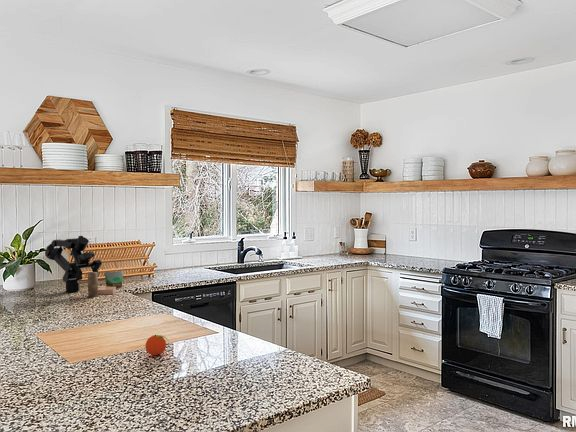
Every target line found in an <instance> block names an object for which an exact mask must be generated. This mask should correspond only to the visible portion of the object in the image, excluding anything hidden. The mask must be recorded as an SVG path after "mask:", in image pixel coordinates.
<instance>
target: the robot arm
mask: <svg viewBox="0 0 576 432" xmlns="http://www.w3.org/2000/svg"><path fill="white" fill-rule="evenodd" d="M88 244H90V241H89V239H87V237H85V236H83V235H78V238H77V237H76V238H74V237H73V238H66V239H53V240H52V241H51V243H50V244H48V246H47V247H46V248H45V251H44V256H45V257H46V258H47V259H49V260H51V261H54V262H56V263H57V265H58V266H59V267H60V268H61V269H62V270H63V271H64V274H63V276H62V281H63V282H64V283H65V291H64V292H65V293H77V292H79V291H80V290H81V288H80V287H81V286H80V285H81V283H80V281H82V280H83V270H82V269H86V268H88V269H89V268H90V269H91V272H97V273H98V274H99V269H100V268H101V266H102V264H103V262H102V260H101V259H94V260H93V261H92V262H90V261H91V259H93V258H94V257H95V252H94V250H93V251H92V250H90V251H87V252H84V251H85V250H86V248H87V246H88ZM63 248H65V249H67V250H71V251H70V255H69V256H72V257H73V259H74V262H69V261H68V260H67V259H66V258H65V256H63V251H64V249H63Z"/></svg>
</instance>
